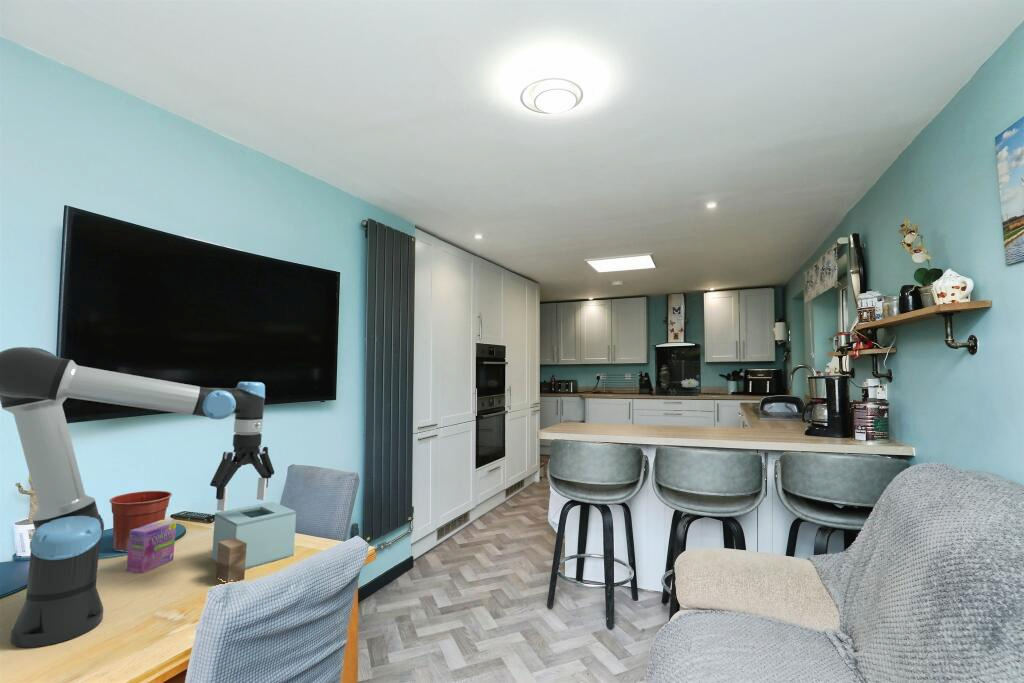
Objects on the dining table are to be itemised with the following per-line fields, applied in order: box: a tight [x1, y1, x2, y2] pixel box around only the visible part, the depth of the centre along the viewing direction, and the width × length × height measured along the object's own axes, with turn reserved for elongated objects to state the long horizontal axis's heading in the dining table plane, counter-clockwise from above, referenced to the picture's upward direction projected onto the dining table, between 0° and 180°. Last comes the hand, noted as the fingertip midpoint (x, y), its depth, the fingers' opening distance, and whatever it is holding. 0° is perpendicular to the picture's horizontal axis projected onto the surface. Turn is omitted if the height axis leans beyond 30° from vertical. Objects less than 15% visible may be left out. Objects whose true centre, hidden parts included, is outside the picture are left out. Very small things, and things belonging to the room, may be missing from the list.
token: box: [215, 538, 247, 584], centre depth 136 cm, size 4×7×10 cm, turn 55°
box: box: [126, 519, 177, 574], centre depth 143 cm, size 10×6×12 cm, turn 168°
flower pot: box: [109, 490, 173, 551], centre depth 158 cm, size 16×16×16 cm
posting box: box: [211, 501, 297, 571], centre depth 152 cm, size 18×16×14 cm
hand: (242, 504), depth 143 cm, fingers open, 13 cm apart
